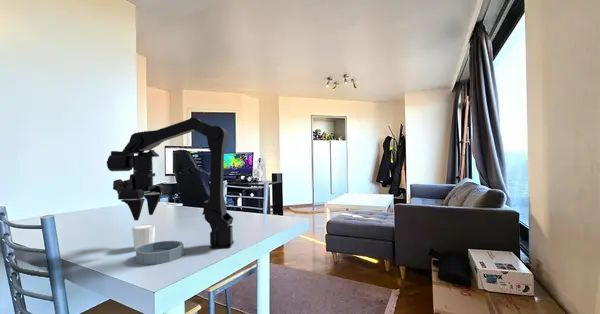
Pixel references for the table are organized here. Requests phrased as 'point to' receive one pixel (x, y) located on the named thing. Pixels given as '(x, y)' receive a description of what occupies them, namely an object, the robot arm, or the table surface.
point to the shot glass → (143, 235)
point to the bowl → (159, 252)
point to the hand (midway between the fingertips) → (144, 217)
